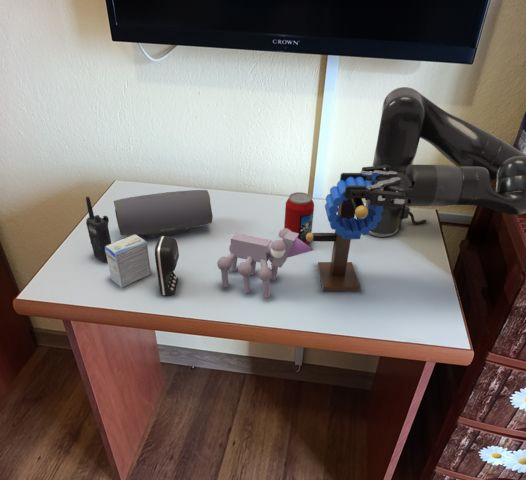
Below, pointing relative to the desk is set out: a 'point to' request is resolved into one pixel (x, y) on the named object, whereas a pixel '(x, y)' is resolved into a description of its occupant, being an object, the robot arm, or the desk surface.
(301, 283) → the desk surface
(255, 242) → the toy sheep
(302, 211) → the beverage can
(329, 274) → the hook stand
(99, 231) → the two-way radio
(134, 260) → the medicine box
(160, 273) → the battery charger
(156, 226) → the bluetooth speaker
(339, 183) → the ridged ring
